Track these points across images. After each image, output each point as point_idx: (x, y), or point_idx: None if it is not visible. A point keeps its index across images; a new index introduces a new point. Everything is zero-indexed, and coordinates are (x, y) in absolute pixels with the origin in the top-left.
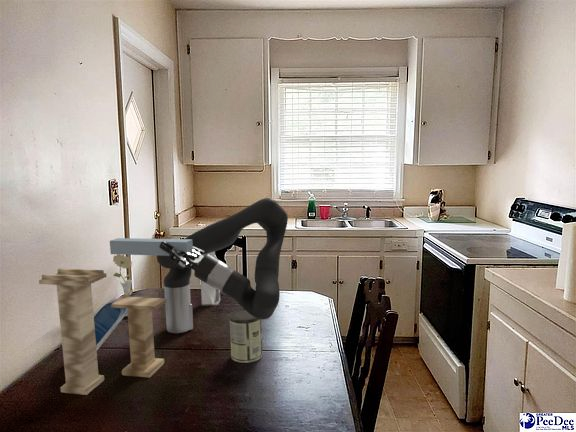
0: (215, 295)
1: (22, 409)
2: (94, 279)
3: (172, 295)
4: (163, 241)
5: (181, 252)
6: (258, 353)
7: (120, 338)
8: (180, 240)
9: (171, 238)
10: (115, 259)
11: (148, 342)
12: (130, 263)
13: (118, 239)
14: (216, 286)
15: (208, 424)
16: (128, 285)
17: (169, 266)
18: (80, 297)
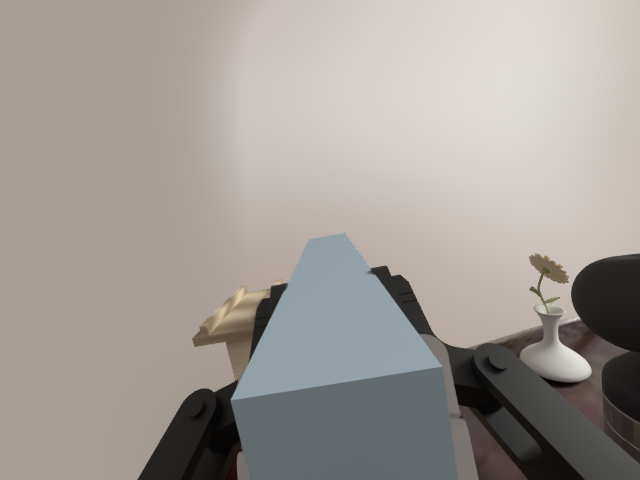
0: None
1: (232, 465)
2: (225, 335)
3: (626, 439)
4: (275, 286)
5: (242, 467)
6: None
7: (475, 428)
8: (339, 317)
9: (381, 269)
10: (533, 262)
11: None
12: (563, 276)
13: (327, 237)
14: None
15: None
16: (551, 319)
17: (613, 341)
18: (239, 356)
